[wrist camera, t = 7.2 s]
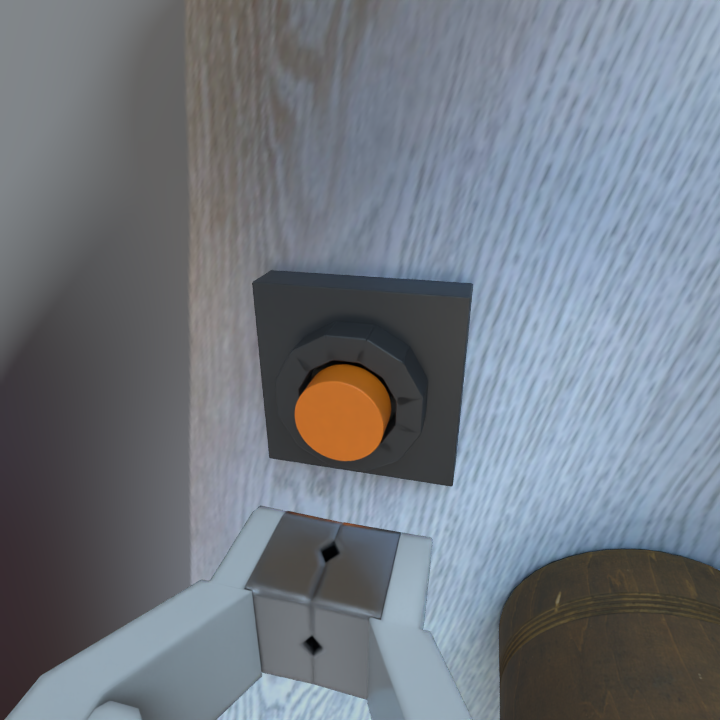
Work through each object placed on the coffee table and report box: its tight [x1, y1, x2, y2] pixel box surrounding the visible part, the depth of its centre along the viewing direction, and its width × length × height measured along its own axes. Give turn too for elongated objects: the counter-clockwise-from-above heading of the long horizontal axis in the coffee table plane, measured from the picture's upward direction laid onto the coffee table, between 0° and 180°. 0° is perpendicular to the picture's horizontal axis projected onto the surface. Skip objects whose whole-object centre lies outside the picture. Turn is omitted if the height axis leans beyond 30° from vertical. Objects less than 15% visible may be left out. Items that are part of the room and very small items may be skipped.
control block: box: [252, 270, 473, 486], centre depth 24 cm, size 10×10×4 cm
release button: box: [295, 364, 391, 461], centre depth 22 cm, size 4×4×2 cm
